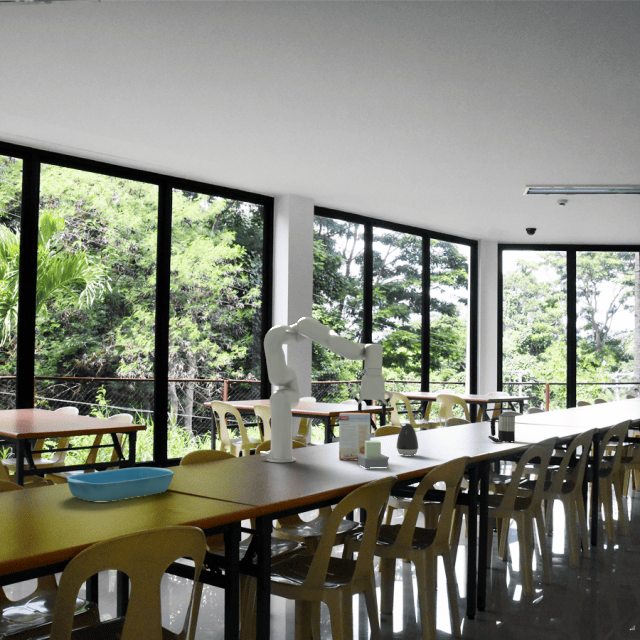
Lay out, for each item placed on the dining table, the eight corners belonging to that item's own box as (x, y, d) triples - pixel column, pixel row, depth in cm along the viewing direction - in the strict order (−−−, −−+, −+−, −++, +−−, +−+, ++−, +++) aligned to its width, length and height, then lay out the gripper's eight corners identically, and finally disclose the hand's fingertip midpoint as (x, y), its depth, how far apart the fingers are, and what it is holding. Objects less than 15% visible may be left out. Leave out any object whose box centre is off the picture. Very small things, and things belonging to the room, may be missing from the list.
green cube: (366, 456, 286) (366, 442, 286) (364, 454, 292) (364, 440, 292) (380, 456, 286) (380, 442, 287) (378, 454, 292) (378, 440, 292)
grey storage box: (364, 470, 282) (364, 458, 283) (356, 466, 293) (357, 454, 293) (388, 469, 285) (388, 457, 285) (380, 465, 295) (380, 453, 296)
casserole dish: (147, 483, 249) (147, 463, 249) (186, 491, 235) (186, 470, 235) (51, 498, 221) (52, 476, 221) (89, 509, 206) (90, 485, 207)
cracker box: (370, 459, 311) (370, 412, 312) (370, 461, 305) (370, 413, 306) (339, 458, 312) (340, 412, 313) (338, 460, 306) (339, 413, 307)
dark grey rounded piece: (421, 455, 325) (421, 422, 325) (413, 457, 315) (413, 424, 316) (401, 453, 329) (401, 421, 330) (393, 456, 320) (393, 423, 321)
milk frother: (516, 441, 383) (515, 414, 384) (514, 444, 368) (514, 416, 369) (489, 439, 387) (489, 413, 388) (487, 443, 372) (487, 415, 373)
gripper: (353, 372, 287) (352, 413, 286) (394, 373, 287) (393, 414, 287) (352, 371, 294) (350, 411, 294) (392, 373, 295) (390, 413, 294)
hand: (371, 413), depth 290 cm, fingers open, 9 cm apart
